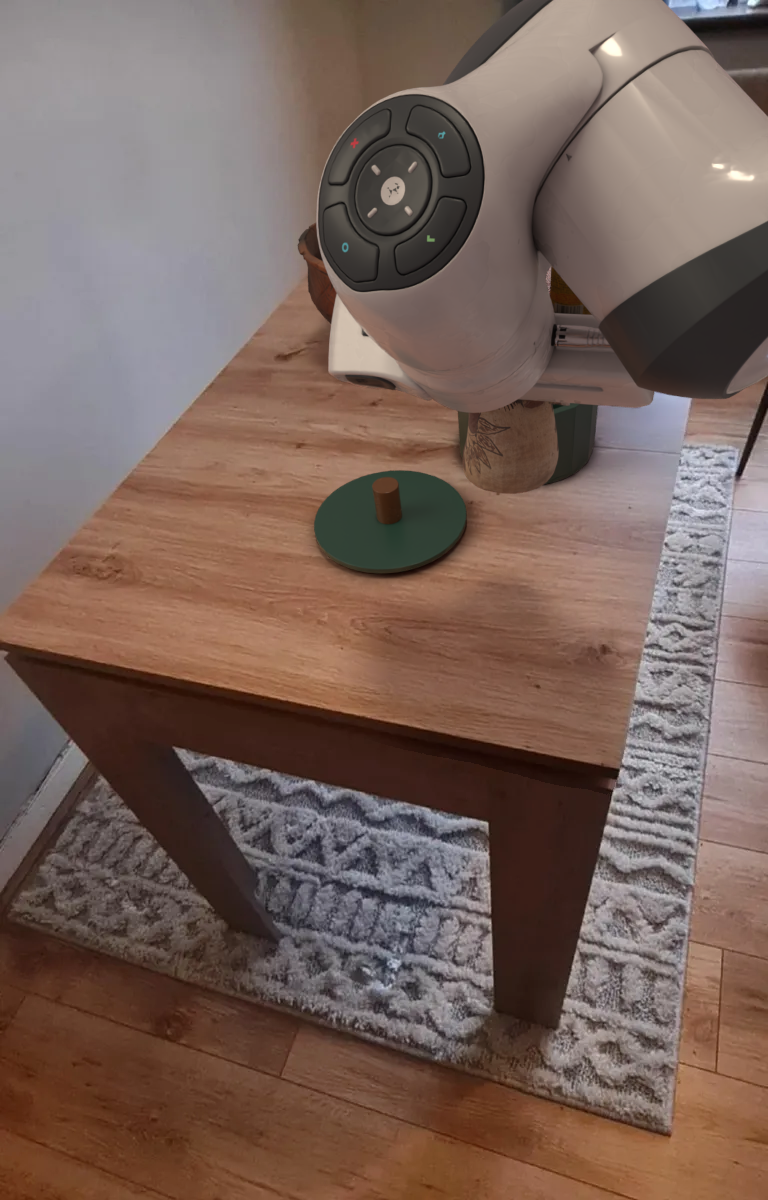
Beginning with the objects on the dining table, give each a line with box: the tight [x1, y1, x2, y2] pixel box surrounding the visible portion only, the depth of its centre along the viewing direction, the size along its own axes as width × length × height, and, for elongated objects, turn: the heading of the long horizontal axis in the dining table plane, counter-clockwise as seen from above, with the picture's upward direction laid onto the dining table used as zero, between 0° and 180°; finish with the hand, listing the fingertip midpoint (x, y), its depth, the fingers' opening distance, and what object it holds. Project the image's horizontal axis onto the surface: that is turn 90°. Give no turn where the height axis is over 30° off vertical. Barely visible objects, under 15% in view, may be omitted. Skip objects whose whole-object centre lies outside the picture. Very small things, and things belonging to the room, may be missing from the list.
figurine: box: [462, 399, 559, 495], centre depth 58 cm, size 7×7×12 cm
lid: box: [313, 469, 468, 574], centre depth 80 cm, size 16×16×5 cm
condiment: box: [549, 266, 592, 315], centre depth 104 cm, size 7×8×12 cm
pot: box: [457, 403, 599, 485], centre depth 86 cm, size 15×15×8 cm
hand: (510, 390), depth 58 cm, fingers closed on figurine, 6 cm apart
